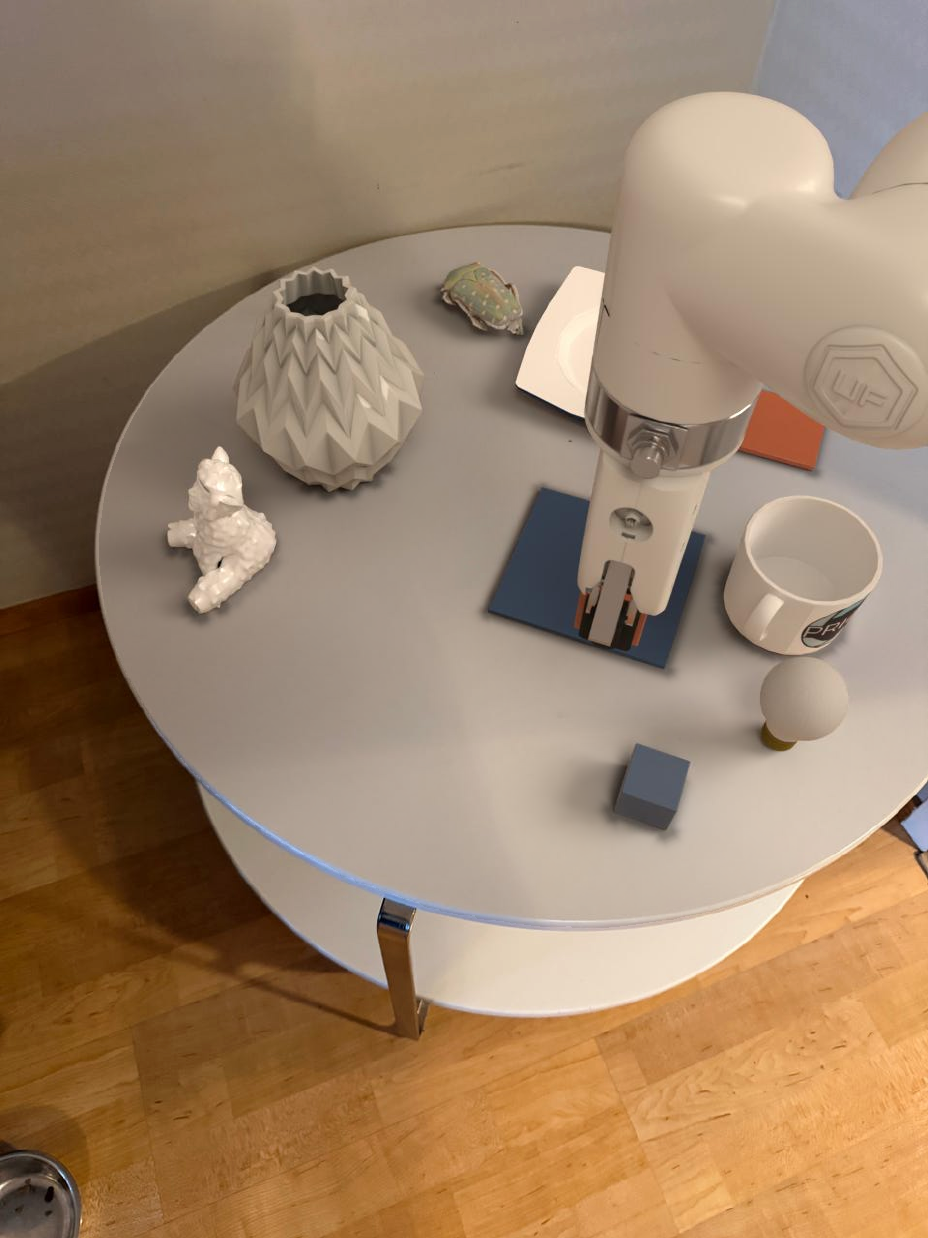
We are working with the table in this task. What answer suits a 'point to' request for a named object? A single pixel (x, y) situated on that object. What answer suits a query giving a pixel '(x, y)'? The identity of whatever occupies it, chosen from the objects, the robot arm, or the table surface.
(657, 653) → the navy blue mat
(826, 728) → the light bulb
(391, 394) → the vase
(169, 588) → the table surface
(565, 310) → the plate
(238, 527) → the sitting furry creature
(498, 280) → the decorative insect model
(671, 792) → the slate block
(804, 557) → the mug
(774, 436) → the terracotta tile
